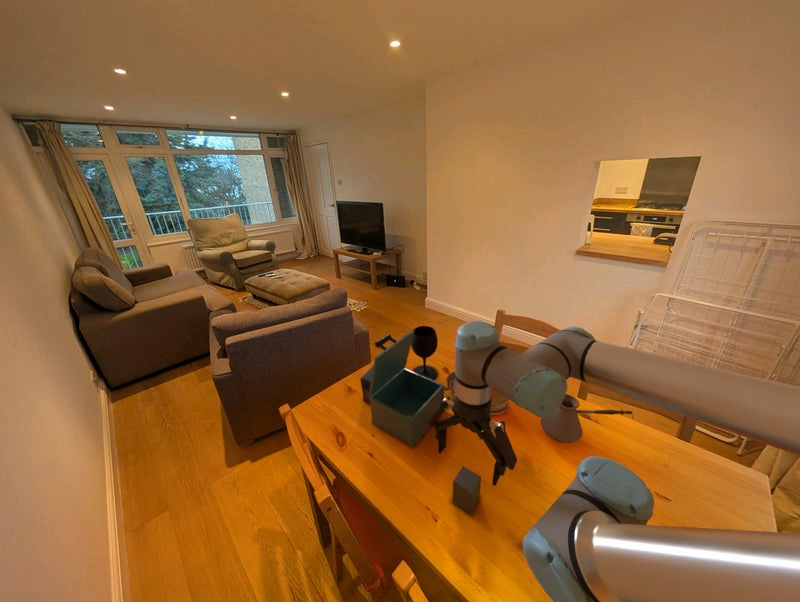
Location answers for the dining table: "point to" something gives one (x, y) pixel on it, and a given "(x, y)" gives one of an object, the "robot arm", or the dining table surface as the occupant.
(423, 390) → the teal open box
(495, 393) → the supplement tub
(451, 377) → the tin
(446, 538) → the dining table surface
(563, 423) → the coffee pot
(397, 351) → the lid
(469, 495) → the block
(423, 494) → the dining table surface
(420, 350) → the wine glass
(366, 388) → the small box
